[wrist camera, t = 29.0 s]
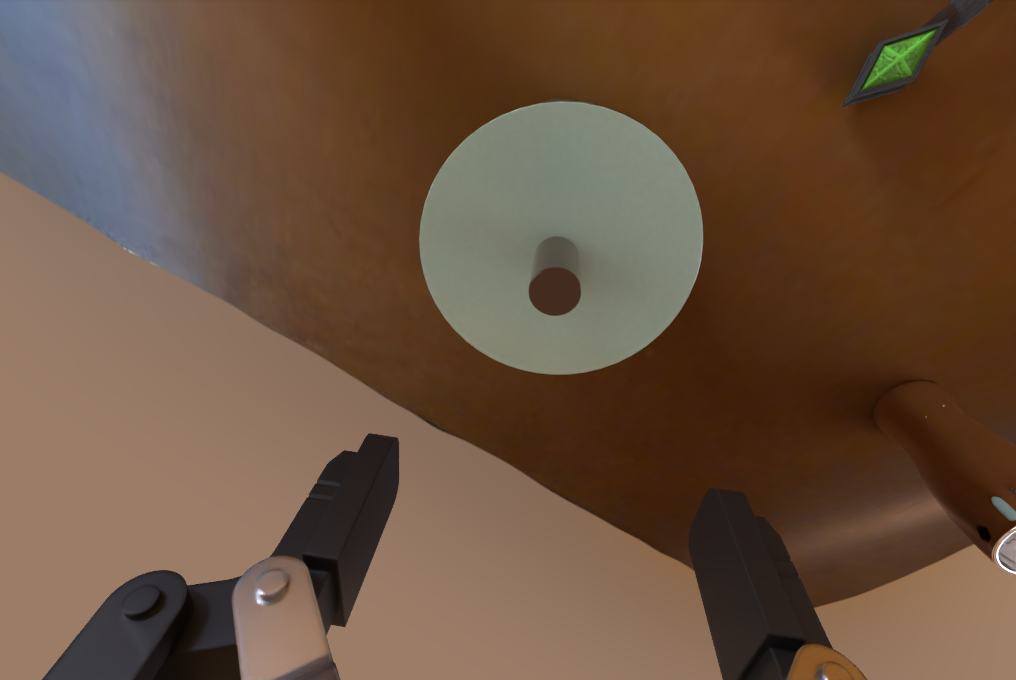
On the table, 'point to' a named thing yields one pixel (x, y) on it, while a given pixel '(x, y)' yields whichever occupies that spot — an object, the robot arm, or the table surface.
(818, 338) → the table surface
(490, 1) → the table surface
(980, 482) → the beer glass
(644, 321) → the pot lid
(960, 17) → the war hammer
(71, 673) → the robot arm
